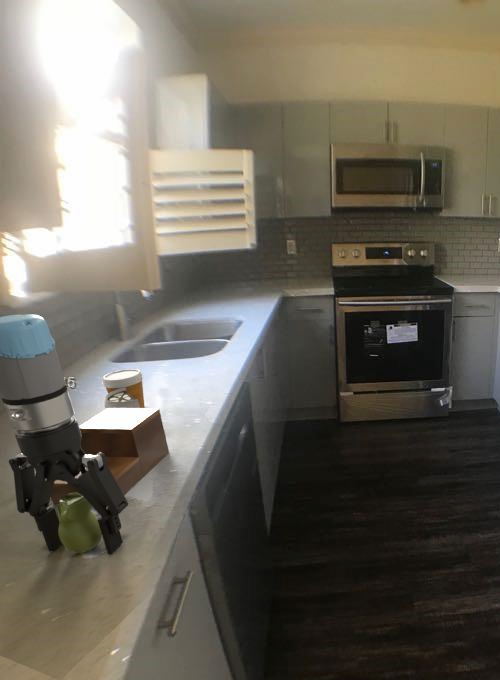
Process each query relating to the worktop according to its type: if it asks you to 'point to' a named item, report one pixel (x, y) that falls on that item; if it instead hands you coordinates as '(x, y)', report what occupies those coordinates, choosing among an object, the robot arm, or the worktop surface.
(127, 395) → the food container
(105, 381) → the disposable coffee cup
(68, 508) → the pear
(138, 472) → the wooden step stand
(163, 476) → the worktop surface
